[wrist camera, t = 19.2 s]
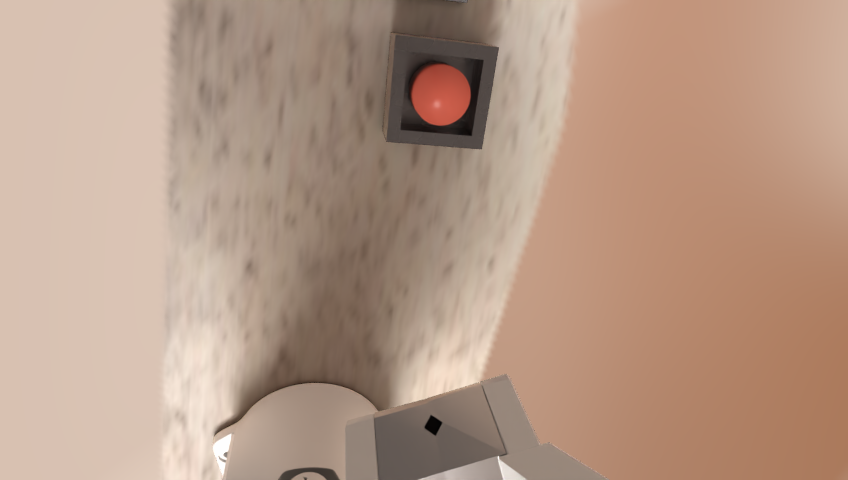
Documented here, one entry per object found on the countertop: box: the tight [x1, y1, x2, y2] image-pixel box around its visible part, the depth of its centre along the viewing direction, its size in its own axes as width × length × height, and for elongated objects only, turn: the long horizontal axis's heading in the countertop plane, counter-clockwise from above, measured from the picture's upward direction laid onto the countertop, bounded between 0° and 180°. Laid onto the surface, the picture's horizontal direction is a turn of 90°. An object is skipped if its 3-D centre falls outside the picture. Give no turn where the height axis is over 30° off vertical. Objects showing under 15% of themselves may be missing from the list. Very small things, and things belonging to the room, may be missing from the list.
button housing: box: [383, 32, 499, 149], centre depth 35 cm, size 7×7×4 cm
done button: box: [409, 62, 471, 126], centre depth 35 cm, size 4×4×2 cm
